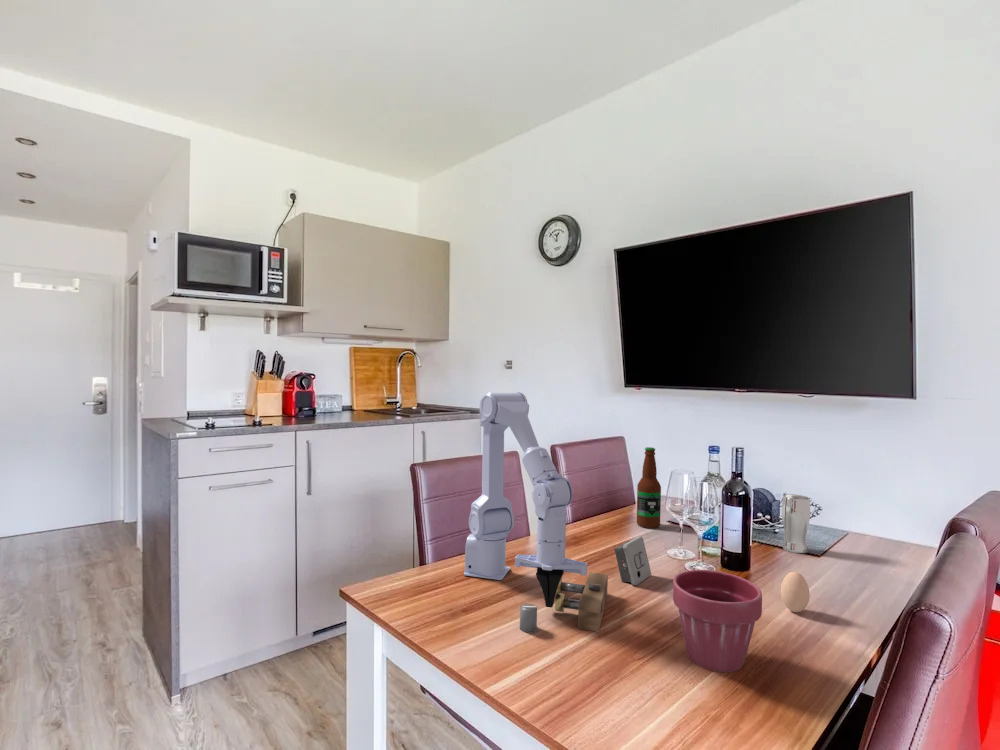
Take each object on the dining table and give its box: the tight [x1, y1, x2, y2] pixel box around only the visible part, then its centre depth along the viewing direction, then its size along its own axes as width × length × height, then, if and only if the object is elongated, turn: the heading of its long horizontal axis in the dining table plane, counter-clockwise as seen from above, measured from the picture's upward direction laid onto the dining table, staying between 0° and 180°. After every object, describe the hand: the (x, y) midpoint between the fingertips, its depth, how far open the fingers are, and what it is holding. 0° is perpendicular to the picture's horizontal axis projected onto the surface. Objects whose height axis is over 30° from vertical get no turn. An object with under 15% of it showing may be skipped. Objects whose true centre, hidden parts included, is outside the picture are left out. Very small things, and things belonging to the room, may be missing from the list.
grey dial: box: [519, 603, 538, 634], centre depth 101 cm, size 3×3×4 cm
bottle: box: [636, 447, 662, 530], centre depth 171 cm, size 7×7×25 cm
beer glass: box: [781, 493, 811, 554], centre depth 150 cm, size 7×7×15 cm
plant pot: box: [672, 569, 763, 673], centre depth 92 cm, size 14×14×13 cm
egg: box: [780, 571, 811, 613], centre depth 111 cm, size 5×5×8 cm
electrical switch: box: [614, 536, 652, 587], centre depth 127 cm, size 9×5×9 cm, turn 141°
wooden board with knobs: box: [577, 571, 609, 633], centre depth 110 cm, size 4×18×5 cm, turn 164°
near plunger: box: [554, 592, 581, 613], centre depth 107 cm, size 8×3×3 cm, turn 74°
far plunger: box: [555, 577, 585, 595], centre depth 115 cm, size 8×3×3 cm, turn 74°
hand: (549, 605), depth 108 cm, fingers closed
